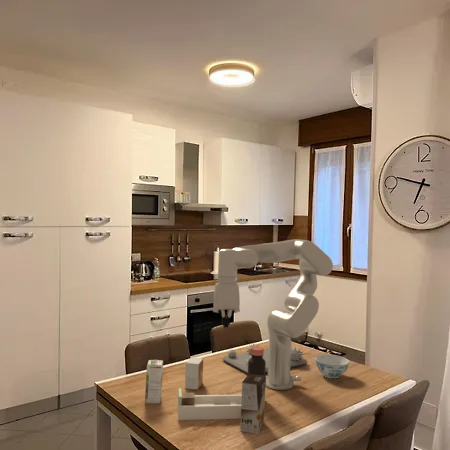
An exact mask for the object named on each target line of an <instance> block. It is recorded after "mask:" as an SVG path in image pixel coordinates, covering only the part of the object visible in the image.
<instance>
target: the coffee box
mask: <svg viewBox="0 0 450 450" xmlns="http://www.w3.org/2000/svg"><path fill="white" fill-rule="evenodd" d="M266 378H267V376H266V375H265V376H262V375H255V374H254V375H253V374H247V376H246V377H245V378H244V379H243V380H242V382H241V383H242V385H241V395H242V402H241V419H240V428H239V430H240V431H241V432H245V433H250V434H257V435H258V434H259V433H260V431H261V429H262V427H263V425H264V423H265V412H266V411H265V409H266V408H265V406H266V388H267V386H266Z"/></svg>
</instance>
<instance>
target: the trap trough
mask: <svg viewBox="0 0 450 450" xmlns="http://www.w3.org/2000/svg"><path fill="white" fill-rule="evenodd" d="M177 390H178V392H177V393H178V394H177V420H178V421H189V420H190V421H191V420H192V421H193V420H198V421H199V420H234V419H235V420H237V419H240V420H241V402H242V394H194V397H195V400H194V405H184V406H182V393H183V392H182V388H181V387H178V389H177Z"/></svg>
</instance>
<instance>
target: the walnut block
mask: <svg viewBox="0 0 450 450" xmlns="http://www.w3.org/2000/svg"><path fill="white" fill-rule="evenodd" d="M194 395H195V392H182V406H184V405H194V400H195V397H194Z"/></svg>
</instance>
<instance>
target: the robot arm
mask: <svg viewBox="0 0 450 450" xmlns="http://www.w3.org/2000/svg"><path fill="white" fill-rule="evenodd" d="M292 260H299V261H298V265H299V273H300V274H299V275H300V276H299V279H298V281H297V283H296V284H295V285H294V286H293V288H292V289H291V290H290V292H289V293H288V295H287V296H286V298H285V300H284V303H283V304H284V307H285V309H286V310H287V311H286V310H284V309H275V310H273V311H271V312H270V313H269V314H268V315H267V322H266V324H267V329H268V345H269V346H268V349H269V352H268V373H267V377H266V388H269V389H272V390H275V391H276V390H279V391H285V390H286V391H287V390H290V389H292V388H294V382H301V381H302V376H301V375H299V376H298V375H296V374H291V368H290V366H291V348H292V339H297V338H300V336H302V335H303V334H304V332H305V331H306V330H307V328H308V327H309V326H310V324H311V323H312V321H313V320H314V319H315V318H316V317H317V314H318V312H319V309H320V308H319V307H320V305H319V301H318V298H317V297H315V296H314V294H315V293H316V291H317V289H318V277H317V275H318V276H327V275H329V274H330V273H332V270H333V268H334V265H333V264H334V263H333V261H332V259H331V258H330V256H329V255H328V254H326V252H325V251H323V250H322V249H321V248H320V247H319V246H318V245H316V244H315V243H314V242H312V241H310V240H308V239H289V240H288V239H287V240H283V241H282V240H281V241H275V242H268V243H260V244H259V243H258V244H251V245H243V246H237V247H234V248H222V249H220V250H219V251H218V260H217V261H218V263H217V264H218V265H217V282H216V283H215V284H214V291H213V301H212V305H213V307H212V312H213V313H217V314H219V315H220V316H221V326H223V328H229V326H230V324H231V317H232V316H233V315H234V314H237V313H239V312H241V311H240V310H241V309H240V302H241V301H240V300H241V299H240V287H239V283H238V282H241V277H239V276H238V268H243V269H249V268H253V267H255V266H256V265H257V263H263V264H264V263H265V264H276V263H277V264H278V263H281V262H286V261H292ZM225 310H227V312H225ZM226 313H227V314H226Z"/></svg>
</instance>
